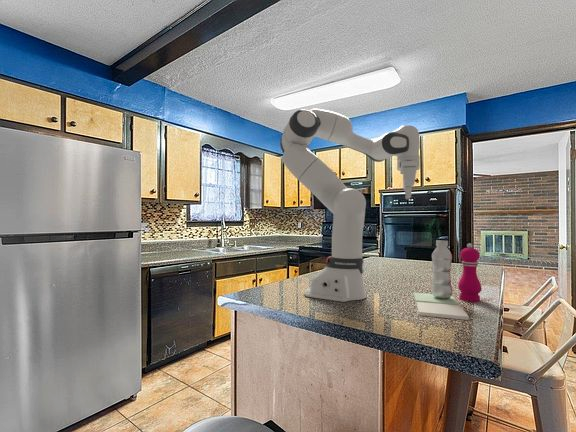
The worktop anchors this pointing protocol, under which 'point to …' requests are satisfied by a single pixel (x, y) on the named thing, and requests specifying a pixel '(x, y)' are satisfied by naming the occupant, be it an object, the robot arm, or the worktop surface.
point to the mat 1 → (434, 299)
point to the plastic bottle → (441, 270)
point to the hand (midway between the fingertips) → (408, 198)
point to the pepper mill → (469, 275)
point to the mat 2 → (441, 310)
